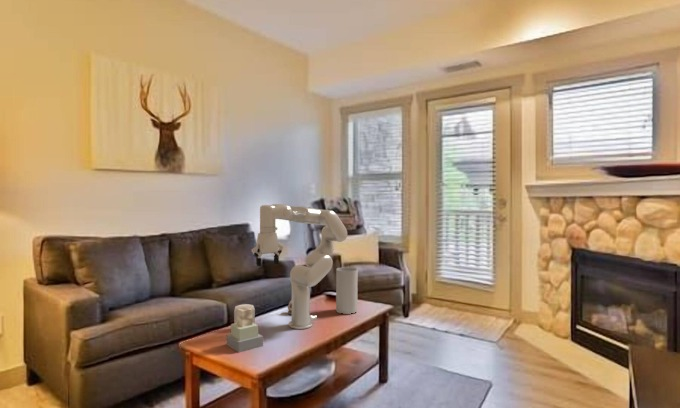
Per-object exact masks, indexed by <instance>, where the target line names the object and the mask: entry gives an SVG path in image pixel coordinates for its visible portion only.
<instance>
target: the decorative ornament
mask: <svg viewBox="0 0 680 408" xmlns="http://www.w3.org/2000/svg"><path fill="white" fill-rule="evenodd" d="M287 310H288V311H287V314H289V315H292V299H291V300H290V301H289V302H288V305H287Z"/></svg>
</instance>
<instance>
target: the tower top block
mask: <svg viewBox="0 0 680 408" xmlns="http://www.w3.org/2000/svg"><path fill="white" fill-rule="evenodd" d="M230 334H231V335H232V336H233V337H235V338H236V339H238V340H245V339H249V338H253V337H257V336H258V334H259V325H258V324H256V322H255V323H253V324H252V325H249V326H244V327H242V326H240V325H238V324H237V323H231V324H230Z"/></svg>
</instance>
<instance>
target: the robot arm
mask: <svg viewBox="0 0 680 408" xmlns="http://www.w3.org/2000/svg"><path fill="white" fill-rule="evenodd" d="M276 220H282V221H289V222H295V223H300V224H308V225H309V224H310V225H316V226H317V225H318V226H323V228H322V229H321V233H320V234H321V238H320V244H319V245H318V246H317V247H316V248H315V249H314V250H313V251H312V252H310V254H308V256H307V257H306V258H305V265H300V264H298V265H294V266H293V267H292V268H291V270H290V271H289V272H290V273H289V278H290V284H291V300H292V314H291V320H290V321H289V322H288V327H289V328H291V329H294V330H304V329H305V330H306V329H310V328H311V327H312V326H313V320H317V318H318V317H317V315H311V313H310V312H311V311H310V310H311V289H310V287H315V286H316V285H318V283H320V282H321V281H322V280H323V279H324V278H325V277H326V275H328V274H329V272H330V271H331V270H332V268H333V264H334V263H333V259H332V257H331V256H332V255H333V253H334V250H335V249H334V248H335V246H334V245H335V243H334V242H338V243H341V242H342V243H343V242H344V241H345V240H347V238H348V230H347V228H346V226H345V225H344V223H343V222H342V220H341V219H340V217H339V215H338V214H337V213H336V212H335V211H334V210H332V209H331V210H330V209H322V208H321V209H320V208H312V207H306V206H289V205H287V204H284V203H283V204H282V203H273V204H262V205H260V208H259V233H257V239H256V246H255V247H253V248H252V249H251V253H252V255H253V256H254V257H255V260H256V261H255V262H256V263H255V264H256V266H257V267H262V258H261V257H262V256H263V255H267V254H273V264H275V265H279V263H280V260H279V259H280V255H281V253H282V251H283V249H284V246H283V245H280V244H279V242H278V241H279V238H278V235H277V234H278V233H277V232H276V231H277V230H278V227H277V226H276Z"/></svg>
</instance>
